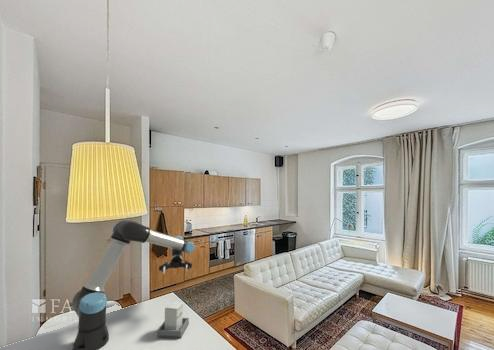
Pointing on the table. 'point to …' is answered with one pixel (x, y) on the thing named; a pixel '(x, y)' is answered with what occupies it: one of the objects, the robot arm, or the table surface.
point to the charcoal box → (172, 333)
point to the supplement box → (173, 316)
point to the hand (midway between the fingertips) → (175, 270)
